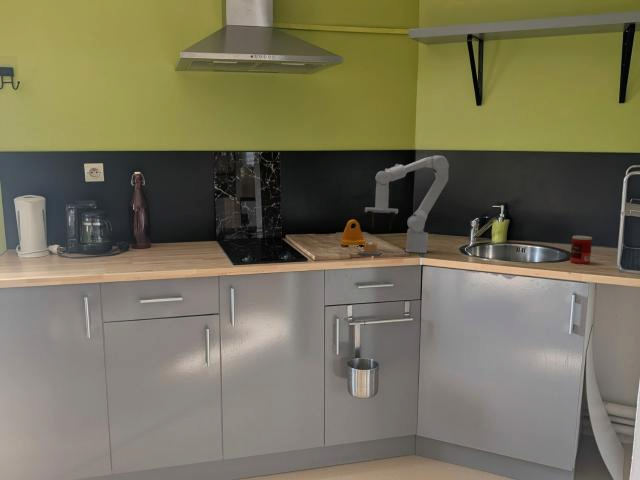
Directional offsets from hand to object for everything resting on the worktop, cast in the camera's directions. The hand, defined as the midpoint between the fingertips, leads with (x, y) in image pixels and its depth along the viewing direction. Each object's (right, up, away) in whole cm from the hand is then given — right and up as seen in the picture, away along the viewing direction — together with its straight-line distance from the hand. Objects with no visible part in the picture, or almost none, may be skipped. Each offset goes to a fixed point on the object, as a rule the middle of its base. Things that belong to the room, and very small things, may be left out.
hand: (380, 228), depth 274 cm
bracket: (-12, -8, +13) cm, 20 cm away
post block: (-5, -11, -7) cm, 14 cm away
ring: (-5, -10, -7) cm, 13 cm away
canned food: (+82, -15, -17) cm, 85 cm away
